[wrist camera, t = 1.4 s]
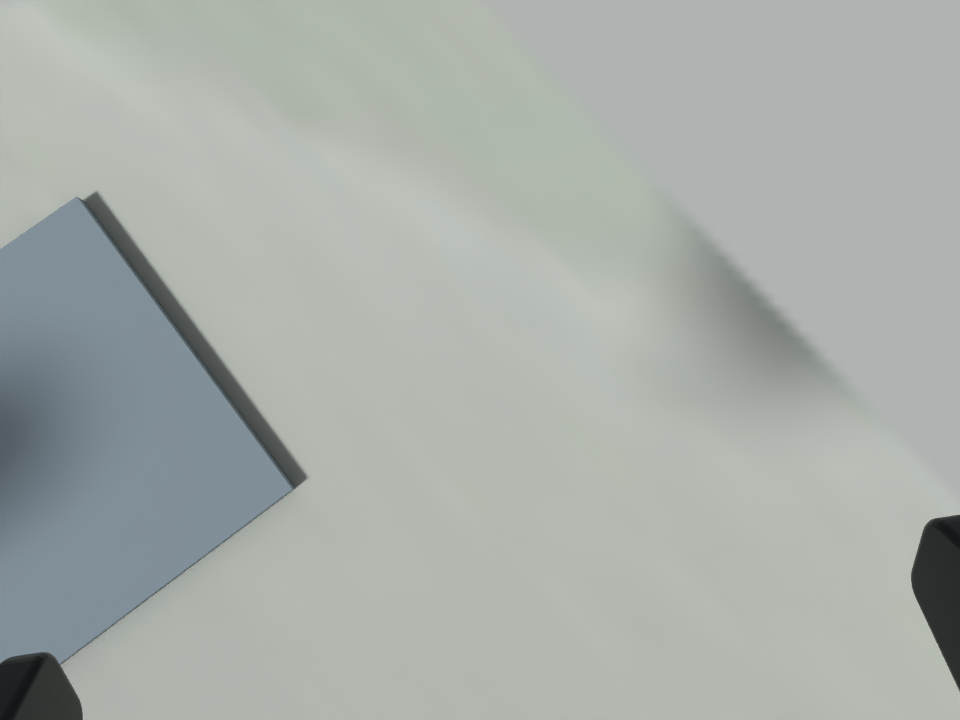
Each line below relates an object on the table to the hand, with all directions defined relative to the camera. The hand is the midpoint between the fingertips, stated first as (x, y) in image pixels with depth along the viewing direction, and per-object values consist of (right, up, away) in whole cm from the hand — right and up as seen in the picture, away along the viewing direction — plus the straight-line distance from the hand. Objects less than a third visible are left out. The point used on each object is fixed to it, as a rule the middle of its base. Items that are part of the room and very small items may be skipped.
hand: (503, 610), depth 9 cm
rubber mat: (-12, 0, +14) cm, 19 cm away
